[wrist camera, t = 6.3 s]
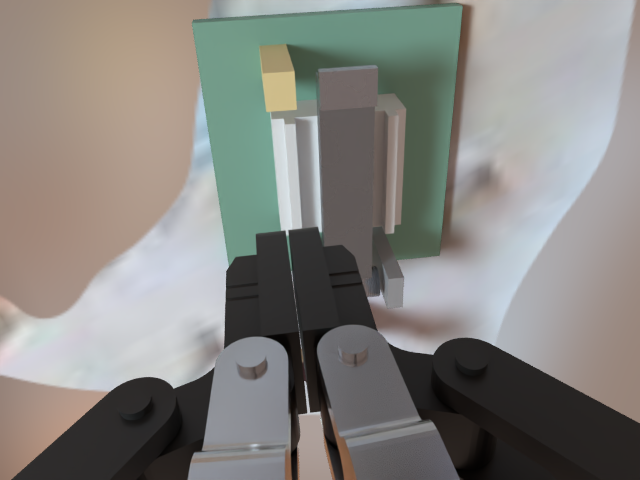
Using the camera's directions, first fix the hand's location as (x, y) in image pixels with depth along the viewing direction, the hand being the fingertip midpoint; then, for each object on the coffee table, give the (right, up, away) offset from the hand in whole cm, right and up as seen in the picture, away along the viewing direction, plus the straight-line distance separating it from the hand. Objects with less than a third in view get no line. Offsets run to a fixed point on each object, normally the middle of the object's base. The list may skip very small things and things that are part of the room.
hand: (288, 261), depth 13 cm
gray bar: (+2, +4, +21) cm, 21 cm away
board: (+2, +7, +25) cm, 26 cm away
